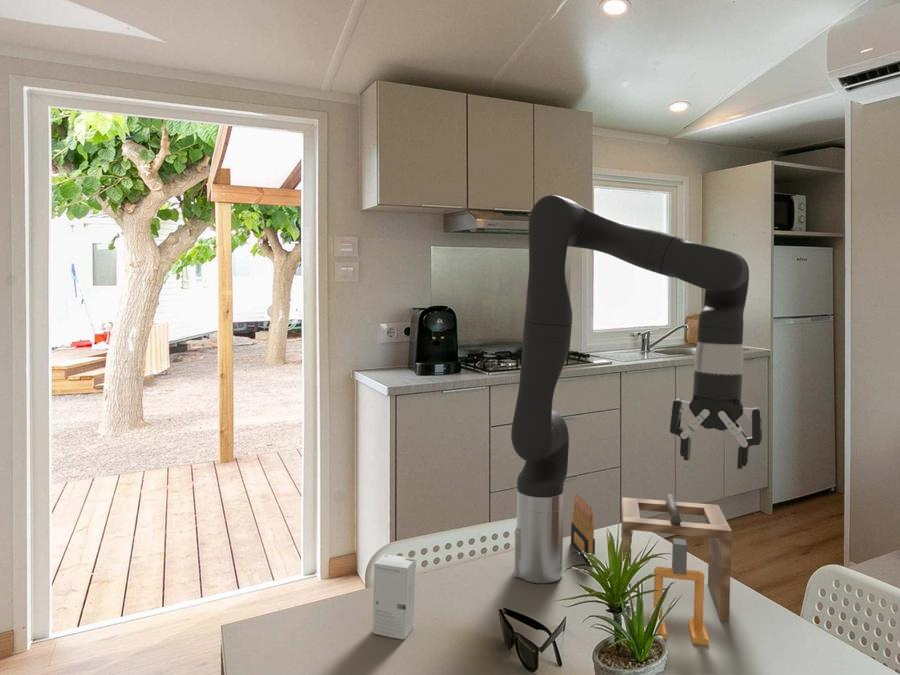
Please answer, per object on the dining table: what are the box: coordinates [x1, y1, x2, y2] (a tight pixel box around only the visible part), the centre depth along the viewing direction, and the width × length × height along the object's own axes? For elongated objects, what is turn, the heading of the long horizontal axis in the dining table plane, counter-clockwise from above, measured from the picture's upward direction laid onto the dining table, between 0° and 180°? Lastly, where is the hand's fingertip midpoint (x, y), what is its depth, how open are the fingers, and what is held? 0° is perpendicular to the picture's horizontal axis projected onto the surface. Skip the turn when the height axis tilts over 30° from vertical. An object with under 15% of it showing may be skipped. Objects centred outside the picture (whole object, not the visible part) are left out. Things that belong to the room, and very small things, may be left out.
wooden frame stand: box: [620, 493, 733, 622], centre depth 115 cm, size 18×14×18 cm
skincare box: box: [372, 553, 417, 640], centre depth 103 cm, size 6×4×12 cm
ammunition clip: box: [570, 493, 596, 564], centre depth 135 cm, size 11×2×12 cm, turn 7°
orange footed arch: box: [648, 537, 709, 646], centre depth 103 cm, size 9×6×16 cm
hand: (713, 463), depth 105 cm, fingers open, 8 cm apart
